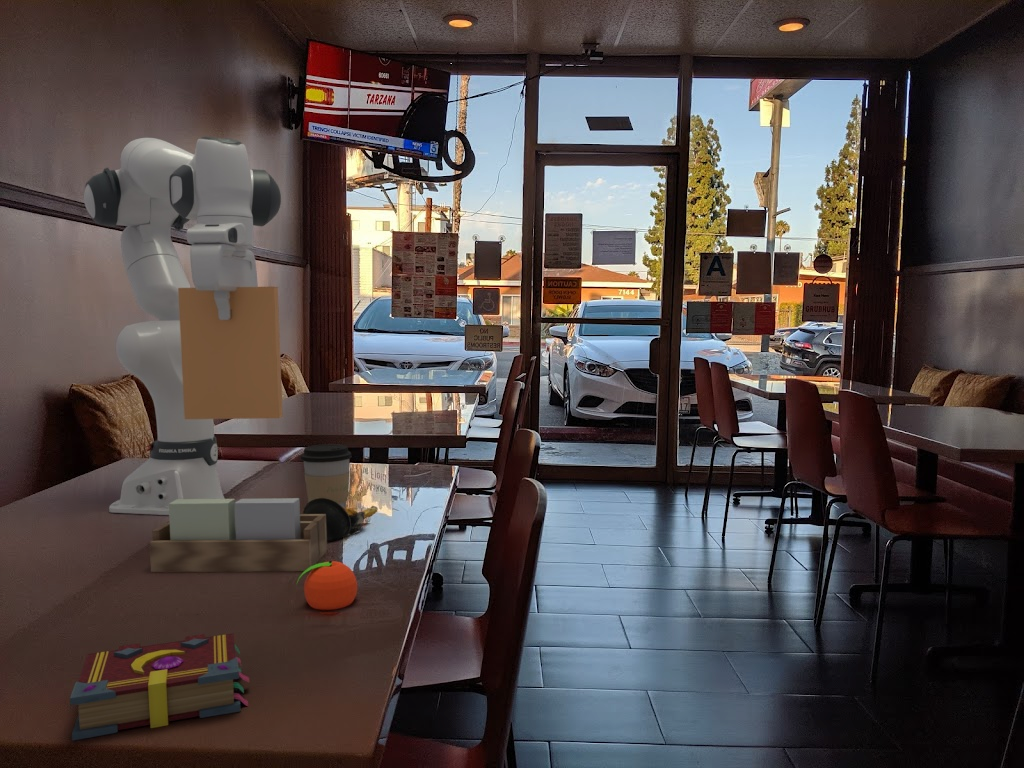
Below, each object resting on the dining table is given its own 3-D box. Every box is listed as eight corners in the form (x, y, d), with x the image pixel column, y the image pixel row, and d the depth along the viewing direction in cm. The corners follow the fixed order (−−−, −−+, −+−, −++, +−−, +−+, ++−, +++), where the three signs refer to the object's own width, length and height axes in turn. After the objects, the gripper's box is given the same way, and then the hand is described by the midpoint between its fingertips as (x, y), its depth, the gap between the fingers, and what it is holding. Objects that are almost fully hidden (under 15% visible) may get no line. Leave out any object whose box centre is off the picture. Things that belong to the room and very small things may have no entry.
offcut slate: (237, 568, 123) (234, 503, 122) (244, 562, 126) (241, 498, 125) (296, 567, 123) (293, 502, 122) (301, 561, 126) (299, 498, 125)
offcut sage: (171, 568, 123) (168, 503, 122) (180, 562, 126) (177, 499, 125) (230, 568, 123) (227, 503, 122) (237, 562, 126) (234, 498, 125)
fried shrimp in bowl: (278, 525, 136) (323, 471, 152) (313, 576, 139) (354, 519, 155) (320, 508, 132) (362, 456, 148) (355, 562, 135) (393, 504, 151)
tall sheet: (184, 419, 136) (178, 287, 134) (189, 417, 138) (183, 288, 136) (279, 418, 136) (273, 286, 134) (282, 416, 138) (277, 286, 136)
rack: (151, 581, 122) (148, 532, 121) (181, 560, 132) (179, 515, 132) (310, 580, 121) (308, 531, 121) (327, 559, 132) (325, 514, 131)
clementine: (301, 627, 103) (299, 573, 102) (293, 609, 109) (291, 558, 109) (363, 617, 106) (361, 564, 105) (352, 600, 112) (350, 550, 112)
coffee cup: (341, 533, 147) (339, 452, 146) (293, 531, 149) (290, 451, 148) (361, 520, 156) (359, 443, 155) (316, 518, 158) (313, 442, 157)
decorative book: (88, 692, 86) (86, 647, 86) (247, 667, 92) (245, 624, 92) (72, 744, 76) (69, 693, 75) (252, 712, 81) (250, 665, 81)
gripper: (229, 242, 145) (233, 319, 146) (181, 230, 125) (185, 320, 126) (264, 241, 145) (267, 319, 146) (222, 229, 124) (225, 320, 126)
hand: (229, 319), depth 136 cm, fingers closed on tall sheet, 2 cm apart
